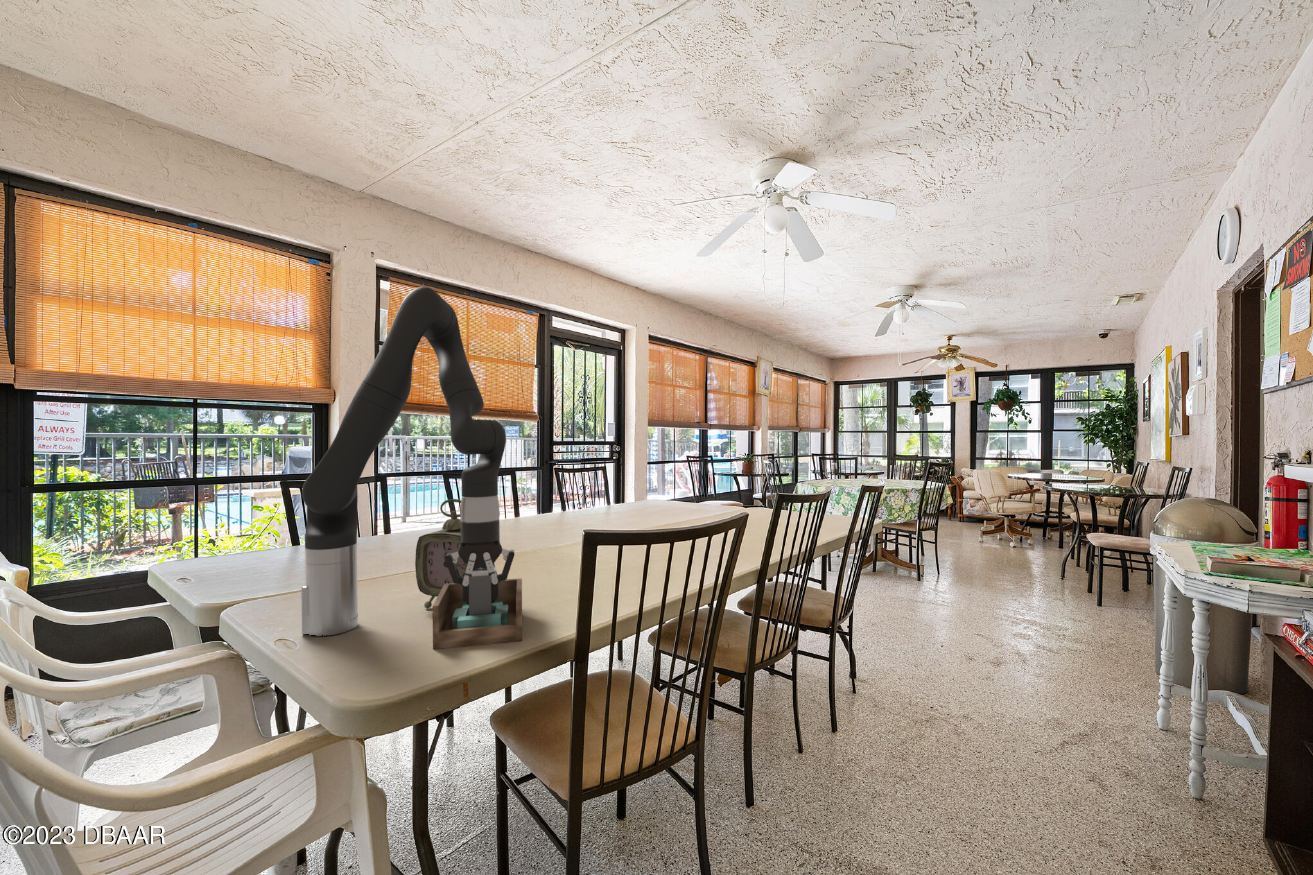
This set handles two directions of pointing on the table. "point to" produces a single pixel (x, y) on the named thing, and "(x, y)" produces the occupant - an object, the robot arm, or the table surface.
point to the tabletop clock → (438, 556)
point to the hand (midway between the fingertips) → (481, 602)
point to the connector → (480, 592)
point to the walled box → (477, 617)
